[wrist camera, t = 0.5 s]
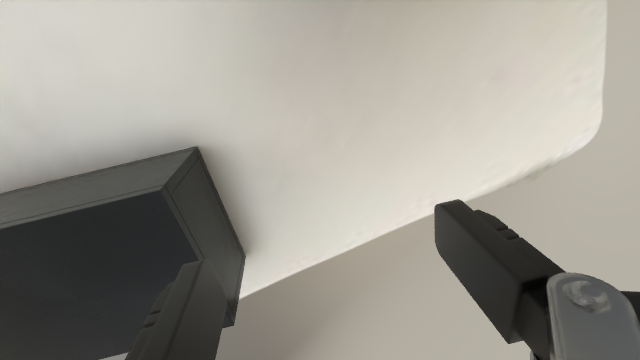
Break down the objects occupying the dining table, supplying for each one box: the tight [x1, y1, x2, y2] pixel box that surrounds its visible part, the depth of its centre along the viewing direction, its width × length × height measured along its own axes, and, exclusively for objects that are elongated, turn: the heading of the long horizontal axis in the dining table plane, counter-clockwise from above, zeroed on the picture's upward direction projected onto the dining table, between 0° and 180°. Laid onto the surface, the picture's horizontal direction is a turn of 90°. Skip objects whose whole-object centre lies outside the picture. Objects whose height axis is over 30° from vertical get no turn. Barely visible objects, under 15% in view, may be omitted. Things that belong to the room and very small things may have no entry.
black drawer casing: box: [0, 147, 246, 360], centre depth 24 cm, size 19×14×9 cm
